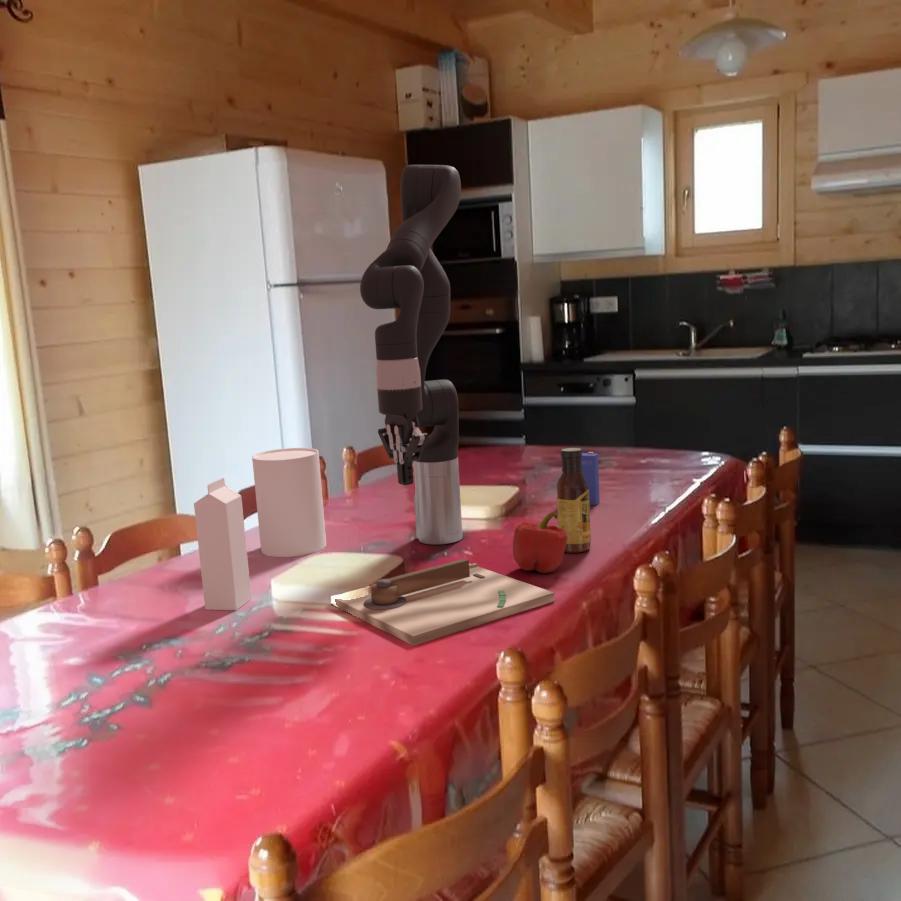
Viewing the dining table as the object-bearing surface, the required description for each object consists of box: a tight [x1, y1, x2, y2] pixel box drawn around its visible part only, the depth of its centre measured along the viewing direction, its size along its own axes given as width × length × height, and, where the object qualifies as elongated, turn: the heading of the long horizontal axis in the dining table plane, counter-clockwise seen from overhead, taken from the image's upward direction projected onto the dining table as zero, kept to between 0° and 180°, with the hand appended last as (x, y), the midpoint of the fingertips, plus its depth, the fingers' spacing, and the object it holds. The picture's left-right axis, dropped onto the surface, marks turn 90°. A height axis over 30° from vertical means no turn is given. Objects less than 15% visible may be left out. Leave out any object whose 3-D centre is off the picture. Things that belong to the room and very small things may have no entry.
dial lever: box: [370, 558, 478, 604], centre depth 165 cm, size 4×21×3 cm, turn 125°
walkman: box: [581, 451, 601, 506], centre depth 226 cm, size 8×3×12 cm, turn 63°
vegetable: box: [512, 511, 567, 574], centre depth 178 cm, size 11×10×10 cm
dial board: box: [335, 563, 555, 646], centre depth 164 cm, size 26×28×2 cm
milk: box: [193, 477, 252, 611], centre depth 168 cm, size 6×6×22 cm
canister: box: [251, 447, 327, 558], centre depth 202 cm, size 14×14×20 cm
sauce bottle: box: [556, 447, 592, 554], centre depth 189 cm, size 7×6×20 cm
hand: (405, 484), depth 169 cm, fingers closed
